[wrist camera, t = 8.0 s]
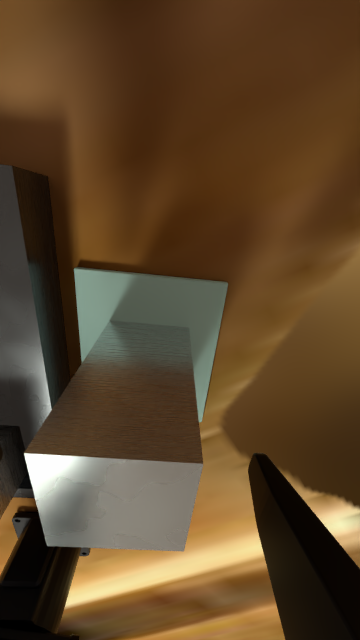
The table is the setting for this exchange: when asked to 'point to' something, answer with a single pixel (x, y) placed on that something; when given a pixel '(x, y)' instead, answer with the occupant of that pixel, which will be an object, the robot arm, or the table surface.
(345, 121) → the table surface
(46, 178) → the rail
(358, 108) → the table surface
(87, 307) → the mat
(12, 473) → the block
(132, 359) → the block
